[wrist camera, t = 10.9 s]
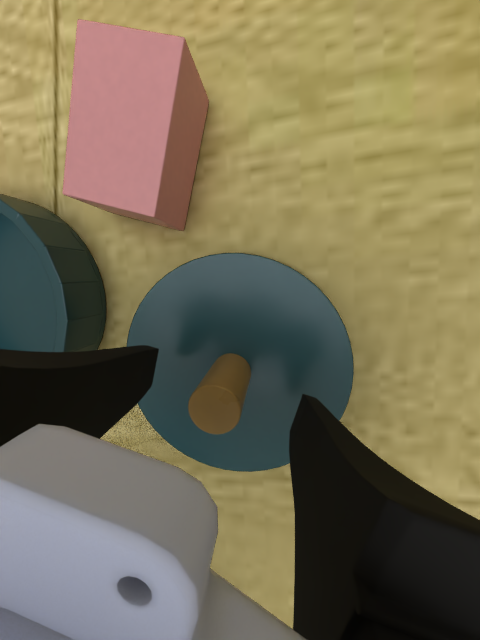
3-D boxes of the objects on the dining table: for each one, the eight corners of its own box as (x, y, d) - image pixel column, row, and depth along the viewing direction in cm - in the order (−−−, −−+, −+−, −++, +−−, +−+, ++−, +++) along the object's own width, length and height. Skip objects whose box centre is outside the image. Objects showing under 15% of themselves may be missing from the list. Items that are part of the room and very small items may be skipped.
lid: (399, 344, 13) (475, 388, 8) (259, 494, 16) (252, 592, 11) (205, 207, 13) (161, 166, 8) (103, 380, 16) (27, 426, 11)
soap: (209, 101, 12) (184, 36, 9) (184, 231, 14) (154, 217, 10) (129, 85, 13) (76, 17, 9) (112, 213, 14) (61, 194, 11)
